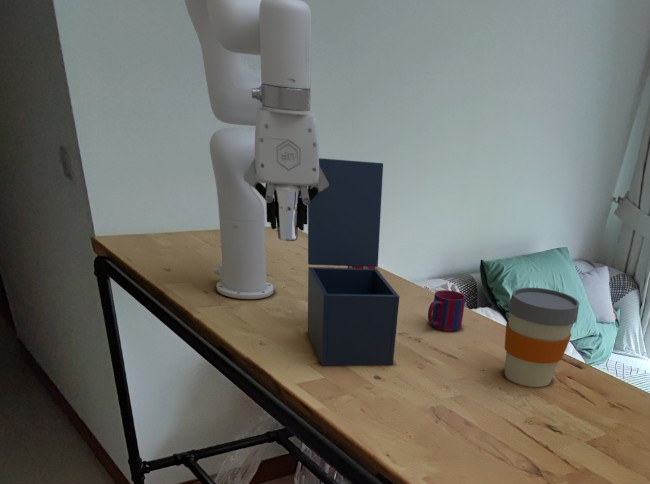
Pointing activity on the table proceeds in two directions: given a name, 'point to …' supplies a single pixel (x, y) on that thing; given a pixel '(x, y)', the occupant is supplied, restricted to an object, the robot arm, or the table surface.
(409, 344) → the table surface
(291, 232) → the milkshake
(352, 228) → the chest lid
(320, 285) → the chest
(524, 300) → the reusable coffee cup
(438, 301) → the cup
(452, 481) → the table surface
